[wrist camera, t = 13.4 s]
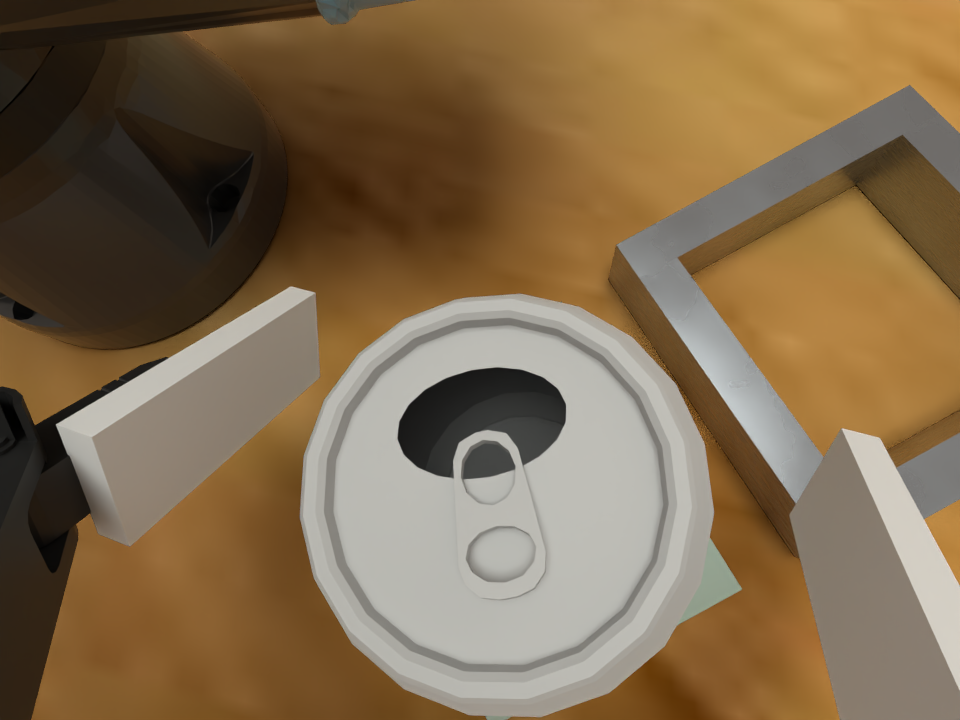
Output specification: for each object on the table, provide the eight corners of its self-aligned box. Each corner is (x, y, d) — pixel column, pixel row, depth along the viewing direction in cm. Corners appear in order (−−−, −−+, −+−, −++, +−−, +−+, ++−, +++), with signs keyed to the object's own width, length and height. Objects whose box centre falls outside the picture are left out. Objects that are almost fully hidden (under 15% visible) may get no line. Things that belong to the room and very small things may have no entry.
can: (602, 378, 20) (665, 209, 9) (655, 587, 18) (830, 721, 7) (412, 417, 21) (242, 306, 9) (442, 623, 19) (268, 806, 7)
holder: (608, 279, 22) (616, 244, 19) (863, 140, 22) (910, 85, 19) (794, 556, 18) (839, 565, 15) (1098, 388, 18) (1199, 366, 15)
